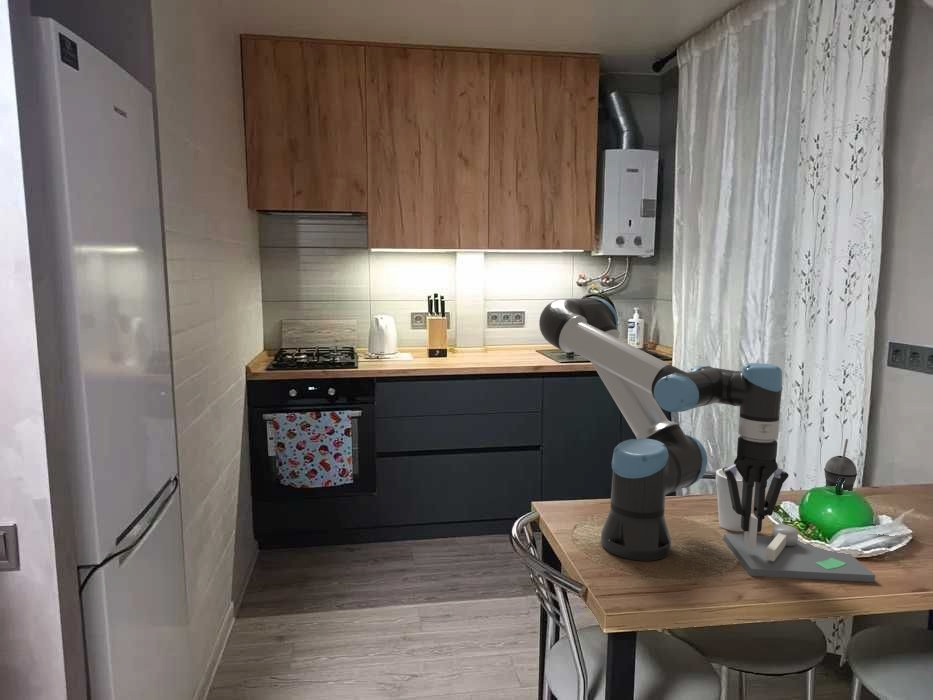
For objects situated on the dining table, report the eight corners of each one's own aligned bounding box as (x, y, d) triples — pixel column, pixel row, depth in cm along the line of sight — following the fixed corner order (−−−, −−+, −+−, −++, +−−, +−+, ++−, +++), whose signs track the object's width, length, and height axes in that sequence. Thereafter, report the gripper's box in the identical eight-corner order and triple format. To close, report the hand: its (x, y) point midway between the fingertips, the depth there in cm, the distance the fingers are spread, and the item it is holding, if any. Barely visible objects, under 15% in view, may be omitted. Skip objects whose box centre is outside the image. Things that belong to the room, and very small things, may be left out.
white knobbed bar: (775, 534, 141) (776, 522, 141) (799, 540, 138) (800, 528, 138) (756, 556, 130) (757, 544, 130) (782, 564, 127) (783, 551, 126)
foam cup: (742, 537, 144) (746, 483, 142) (705, 525, 151) (708, 473, 149) (760, 526, 150) (764, 475, 149) (723, 515, 157) (727, 465, 155)
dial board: (750, 575, 126) (751, 568, 125) (723, 539, 143) (723, 533, 142) (874, 582, 124) (875, 574, 124) (831, 545, 141) (832, 538, 140)
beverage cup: (813, 511, 160) (820, 436, 158) (833, 508, 163) (840, 434, 160) (839, 522, 153) (846, 444, 151) (859, 518, 156) (867, 441, 153)
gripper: (731, 441, 126) (724, 551, 129) (798, 443, 125) (788, 554, 128) (719, 432, 133) (712, 536, 136) (782, 434, 132) (774, 539, 135)
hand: (749, 545), depth 132 cm, fingers closed
